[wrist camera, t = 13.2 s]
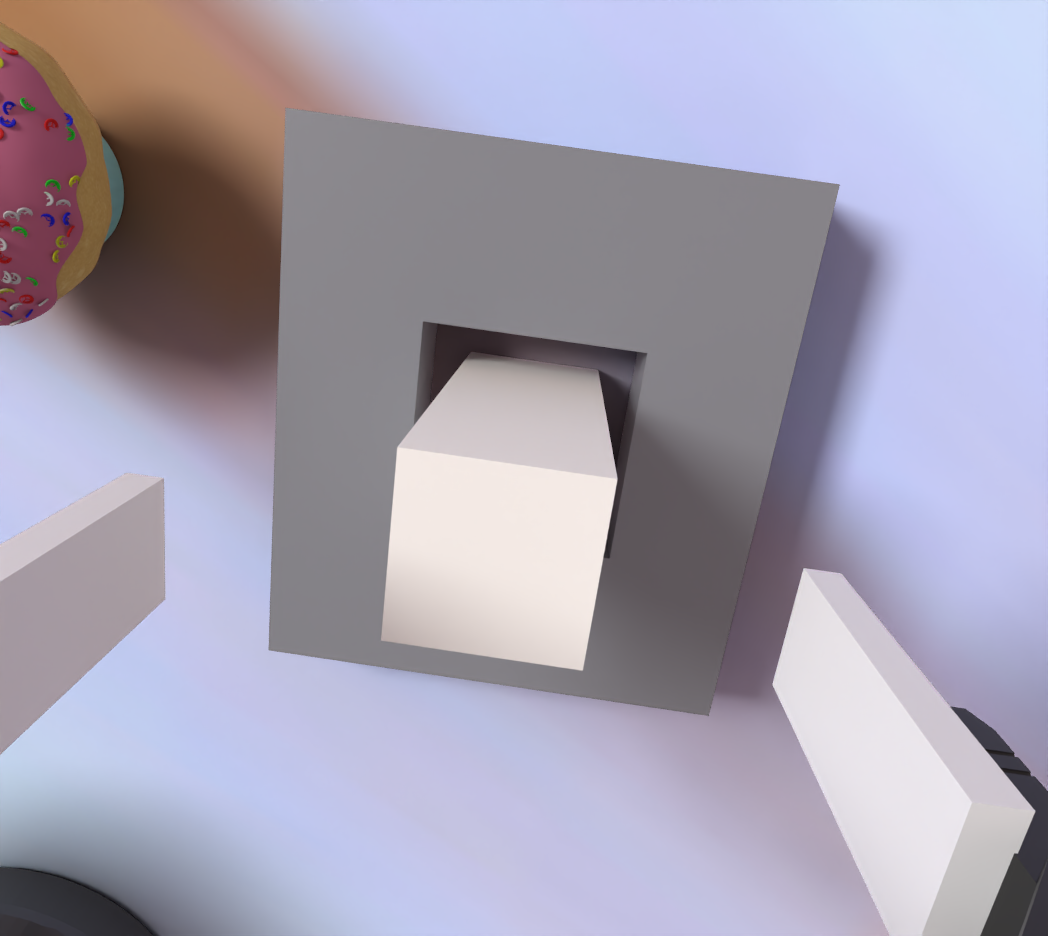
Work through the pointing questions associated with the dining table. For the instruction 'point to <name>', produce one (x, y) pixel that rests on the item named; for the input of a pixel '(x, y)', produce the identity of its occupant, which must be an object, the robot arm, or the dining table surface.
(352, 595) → the socket
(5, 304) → the cupcake
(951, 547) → the dining table surface
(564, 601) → the plug
